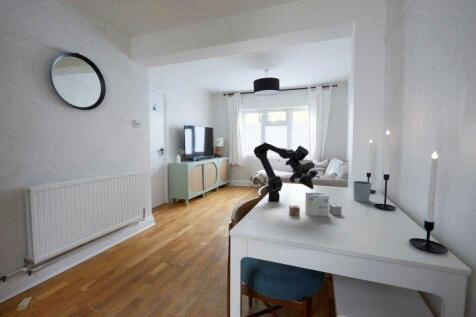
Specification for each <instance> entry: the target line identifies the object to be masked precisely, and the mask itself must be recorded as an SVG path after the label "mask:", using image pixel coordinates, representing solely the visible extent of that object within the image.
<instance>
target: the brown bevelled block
mask: <svg viewBox="0 0 476 317" xmlns="http://www.w3.org/2000/svg"><path fill="white" fill-rule="evenodd" d="M288 208H289V209H288V215H289V216H290V217H300V212H301V211H300V210H301V208H300V207H299V205H297V204H289V205H288Z"/></svg>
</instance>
